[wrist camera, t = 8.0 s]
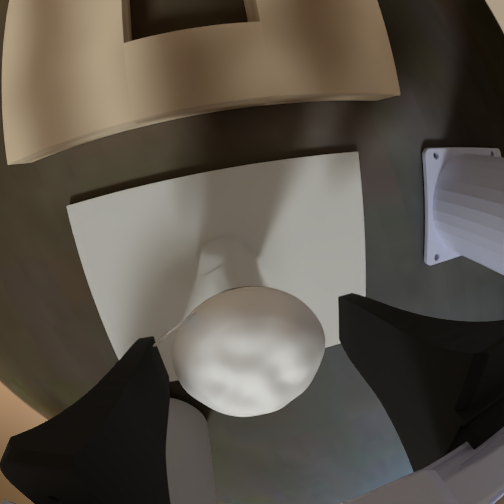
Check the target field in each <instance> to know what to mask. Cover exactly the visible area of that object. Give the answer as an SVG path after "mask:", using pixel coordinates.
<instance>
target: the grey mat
mask: <svg viewBox="0 0 504 504" xmlns="http://www.w3.org/2000/svg"><path fill="white" fill-rule="evenodd" d="M66 207H67V211H68V215H69V219H70V223H71V227H72V231H73V235H74V238H75V242H76V246H77V249H78V252H79V256H80V259H81V262H82V266H83V269H84V272H85V275H86V278H87V281H88V284H89V287H90V290H91V293H92V295H93V298H94V301H95V304H96V306H97V309H98V312H99V314H100V317H101V319H102V322H103V324H104V327H105V329H106V332H107V334H108V337H109V339H110V341H111V344H112V346H113V348H114V350H115V353H116V355H117V357H118V359H119V360H120V359H121V358H122V356H123V355H124V354H125V353H126V352H127V351H128V349H129V348H130V347H131V346H132V345H133V344H134V343H135V342H136V341H137V340H138V339H139V338H144V337H151V336H154V339H155V342H156V341H157V340H158V339H159V338H160V337H161V336H162V335H163V334H164V333H166V332H167V331H169V330H170V329H171V328H173V327H174V326H176V325H177V324H179V322H180V318H181V315H182V311H183V308H184V305H185V301H186V296H187V291H188V287H189V282H190V278H191V274H192V269H193V265H194V263H195V261H196V258H197V256H198V254H199V252H200V250H201V247H202V246H204V245H206V244H208V243H209V242H211V241H213V240H215V239H217V238H218V237H223V238H233V239H239V240H240V241H242V242H243V243H244V244H245V245H246V246H247V247H248V248H249V249H250V250H251V251H252V252H254V254H255V255H256V256H257V257H258V258H259V259H260V260H261V261H262V262H263V263H264V265H265V266H266V267H267V268H268V269H269V270H270V271H271V272H272V273H273V275H275V276H276V277H277V278H278V279H279V280H280V281H282V282H283V283H284V284H285V285H286V286H287V287H288V288H289V289H290V290H291V291H292V292H293V293H294V294H295V295H296V296H297V297H298V298H299V299H301V300H302V301H303V302H304V303H305V304H306V305H307V306H308V307H309V308H310V309H311V310H312V311H313V313H314V314H315V315H316V317H317V318H318V320H319V321H320V323H321V325H322V328H323V331H324V335H325V348H326V347H330V346H333V345H336V344H340V343H341V342H340V340H339V307H338V297H339V296H343V295H347V294H350V293H354V294H358V295H361V296H364V297H366V263H365V232H364V213H363V198H362V186H361V175H360V165H359V156H358V152H345V153H334V154H324V155H315V156H307V157H298V158H290V159H283V160H276V161H269V162H262V163H255V164H249V165H243V166H237V167H231V168H225V169H219V170H214V171H209V172H203V173H198V174H193V175H188V176H183V177H178V178H174V179H169V180H164V181H160V182H155V183H151V184H147V185H143V186H138V187H134V188H130V189H126V190H122V191H118V192H114V193H111V194H107V195H103V196H99V197H96V198H92V199H88V200H85V201H81V202H78V203H75V204H71V205H68V206H66ZM176 333H177V331H176V332H174V333H173V334H172V335H170V336H169V337H168V338H166V339H165V340H164V341H162V342H161V343H159V344H158V345H157V347H158V350H159V352H160V355H161V357H162V360H163V363H164V365H165V368H166V370H167V373H168V375H169V382H171V381H177V380H178V378H177V376H176V373H175V370H174V367H173V361H172V348H173V343H174V340H175V337H176Z"/></svg>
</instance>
